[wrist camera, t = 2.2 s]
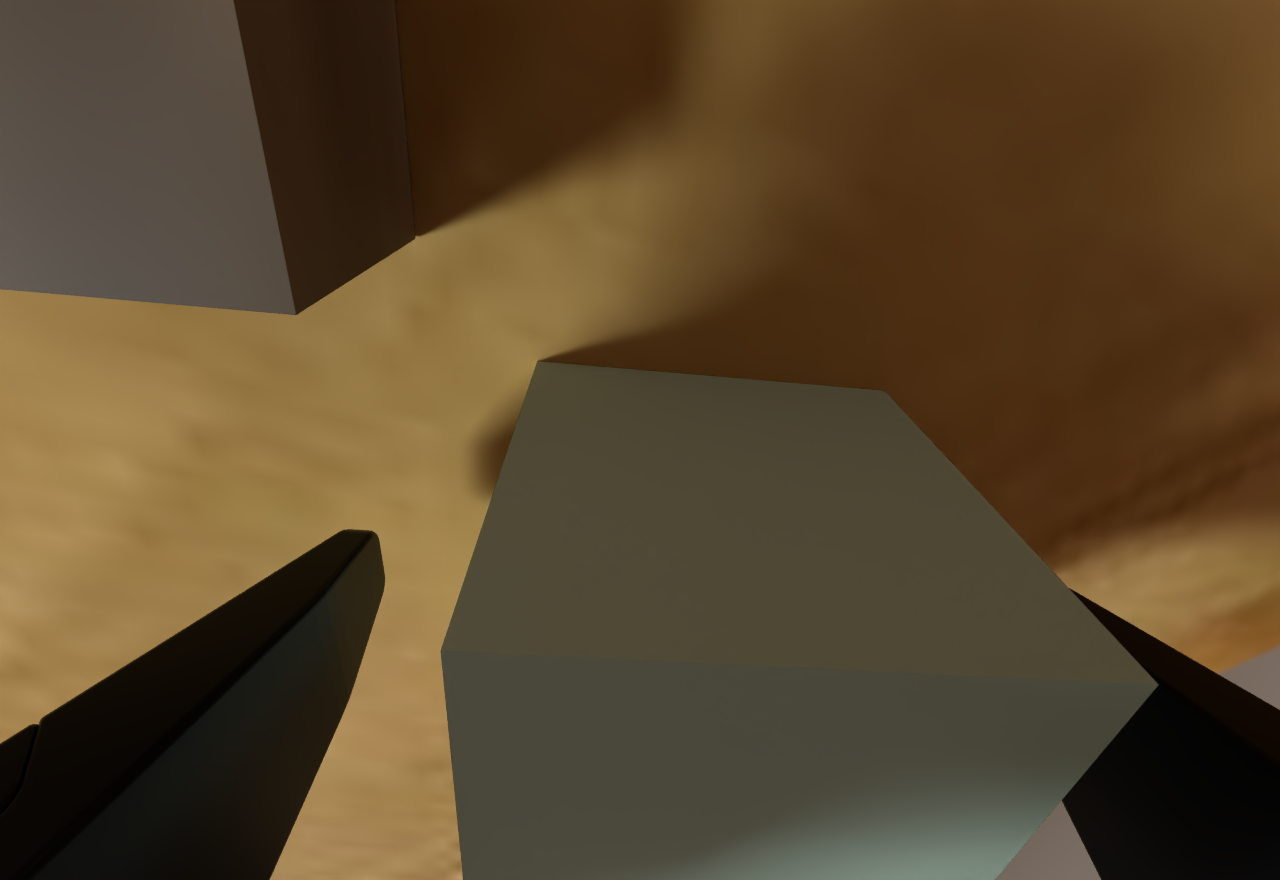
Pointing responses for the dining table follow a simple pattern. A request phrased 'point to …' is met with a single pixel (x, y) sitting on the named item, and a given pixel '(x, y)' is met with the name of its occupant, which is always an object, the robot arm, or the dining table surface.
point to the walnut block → (200, 149)
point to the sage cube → (758, 645)
